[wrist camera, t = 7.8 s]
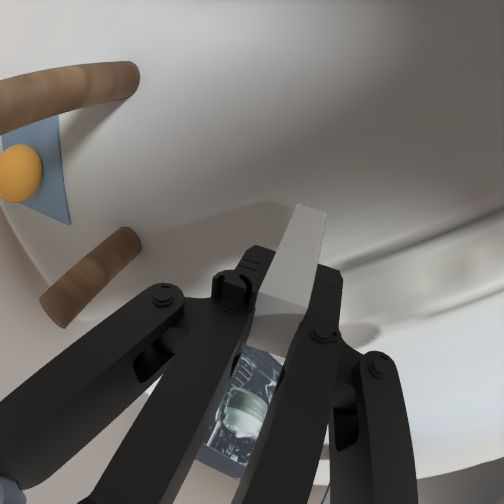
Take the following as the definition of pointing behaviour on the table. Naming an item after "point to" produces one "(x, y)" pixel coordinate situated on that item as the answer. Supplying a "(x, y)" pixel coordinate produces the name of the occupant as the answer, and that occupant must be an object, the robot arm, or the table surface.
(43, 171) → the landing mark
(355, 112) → the table surface
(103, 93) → the post
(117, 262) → the post
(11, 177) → the ball
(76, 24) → the table surface
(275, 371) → the box
